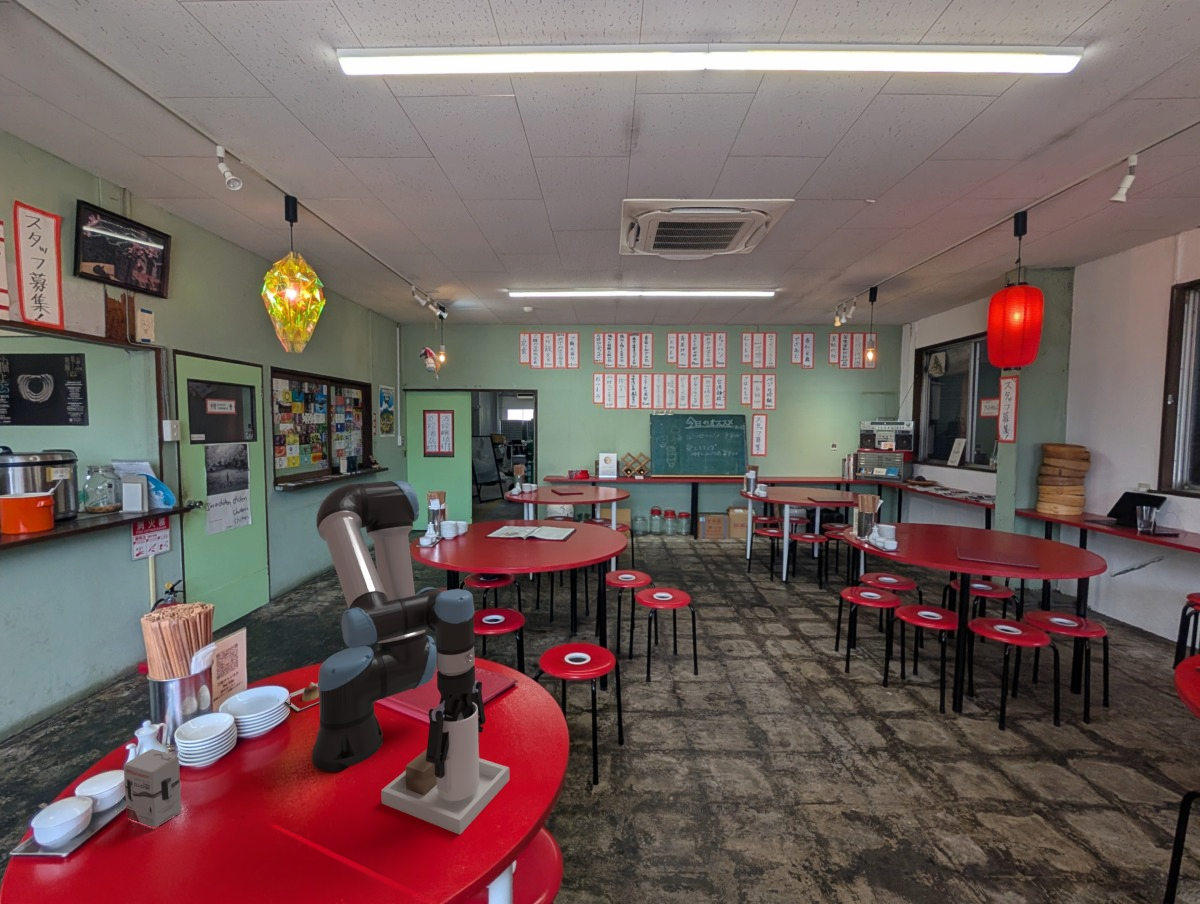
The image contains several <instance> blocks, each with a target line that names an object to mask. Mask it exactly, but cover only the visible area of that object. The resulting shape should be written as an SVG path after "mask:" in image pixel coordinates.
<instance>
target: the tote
mask: <svg viewBox="0 0 1200 904" xmlns="http://www.w3.org/2000/svg"><path fill="white" fill-rule="evenodd" d="M509 781H510V767H509V766H506V765H502V764H500V763H495V762H493V761H489V760H486V759H484V758H480V757H479V787H478V789H477V790H476V792H475V793H473V794H472V795H471V796H469V797H467V798H465V799H463V800H459V801H447V800H444V799H442V798H441V797H440V796H439V794H438V789H437V785H436V786H435V787H434V788H432V789H431V790H430V791H429V792H428V793H427V794H426V795H425V796H423V795H421V794H418V793H415V792H413V791H410V790H407V789H406V770H404V771H403V772H402V773H401V774H399V776H396V778H394V780H392V781H391V782H390V783H388V784H387V785H386V786H384V788H382V789H381V804H383V805H384V806H387V807H389V808H392V809H395V810H398V811H400V812H402V813H405V814H407V815H410V816H412V817H414V818H417V819H420V820H422V821H425V822H428V823H429V824H432V825H435V826H437V827H440V828H443V829H445V830H447V831H450V832H452V833H455V834H456V835H457V834H458V835H461V834H462V833H464V831H465V830H466V829H467V828H468V827H469V825H470V824H472V822H473V821H474V820H475V819H476V818H477V816H478V815H479V814H481V813H482V811H483V810H484V809H485V808H486V806H488V805H489V803H490V802H491V801H492V800H493V799H494V798H495V796H496V795H498V793H499V792H500V791H502V789H503V788H504V787H505V786H506V785H507V784H508V782H509Z"/></svg>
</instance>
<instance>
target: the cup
mask: <svg viewBox="0 0 1200 904" xmlns="http://www.w3.org/2000/svg"><path fill="white" fill-rule="evenodd" d="M472 703H473V705H474V706H473V715H472V716H470V717H469V718H466V719H464V717H463V715H462V713H460V714H459V715H458V719H457V721H455V722H448V721H443V732H448V731H449V748H448V753H447V757H446V758H449V762H450V791H449V792H448V793H446V792H443V791H440V790H438V794H439V796H440V797H441V798H442V799H444V800H447V801H459V800H463V799H465V798H467V797H469V796H471V795H472V794H473V793H475V792H476V790H477V789H478V787H479V758H480V753H479V744H480V742H479V743H478V717H479V716H478V707H477V705H476V704H475V703H474V702H472ZM446 716H447V717H450V718H452V716H448V715H447V714H446ZM440 754H441V753H440Z"/></svg>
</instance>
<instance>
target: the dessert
mask: <svg viewBox="0 0 1200 904" xmlns="http://www.w3.org/2000/svg"><path fill="white" fill-rule="evenodd" d="M289 694H290V696H291V697H290V698H293V697H296V696H297V695H301V694H302V697H301V701H303V702H311V701H314V700H316V699H319V689H318V682H317V683H315V682H312V681H310V684H309V686H306V687H304V688H301V689H299V690H296V691H294V692H291V693H289ZM317 704H319V701H318V702H315V703H313V704H310V705H308V706H305V707H303V708H299V707H297V705H295V704H293V703H292V702H291V705H289V706H290V707H291V708H292V709H293V710H295V711H297V712H300V711H303V710H306V709H307V708H311V707H312V706H315V705H317Z"/></svg>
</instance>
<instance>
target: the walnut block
mask: <svg viewBox="0 0 1200 904" xmlns="http://www.w3.org/2000/svg"><path fill="white" fill-rule="evenodd" d="M426 753H427V748H426V749H425V750H424V751H422V752H421V753H420V754H419V755H417V756H416V757H415V758H414V759H413V760H411V761H410V762H409V763H407V764H406V765H405V771H406V789H407V790H410V791H413V792H415V793H418V794H421V795H423V796H425V795H426V794H427V793H428V792H429V791H430V790H431V789H432V788H434V787H435V786H436V785H437V777H436V776H435V764H433V763H430V762H427V761H426Z"/></svg>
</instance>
